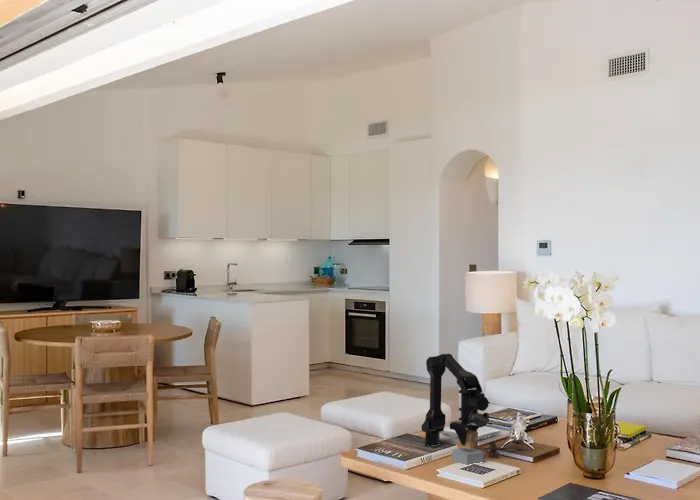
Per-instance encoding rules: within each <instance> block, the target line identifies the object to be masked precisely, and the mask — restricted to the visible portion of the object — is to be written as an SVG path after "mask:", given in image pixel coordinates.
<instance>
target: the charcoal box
mask: <svg viewBox="0 0 700 500" xmlns="http://www.w3.org/2000/svg"><path fill="white" fill-rule="evenodd" d="M451 462H453V463H456V464H458V463H461V464H465V465H469V464H473V463H480V462H483V463H484V450H483V451H482V450H481V449H474V448H472V449H467V448H462V447H459V448H454V449H453V448H452V449H451ZM461 464H460V465H461Z"/></svg>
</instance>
